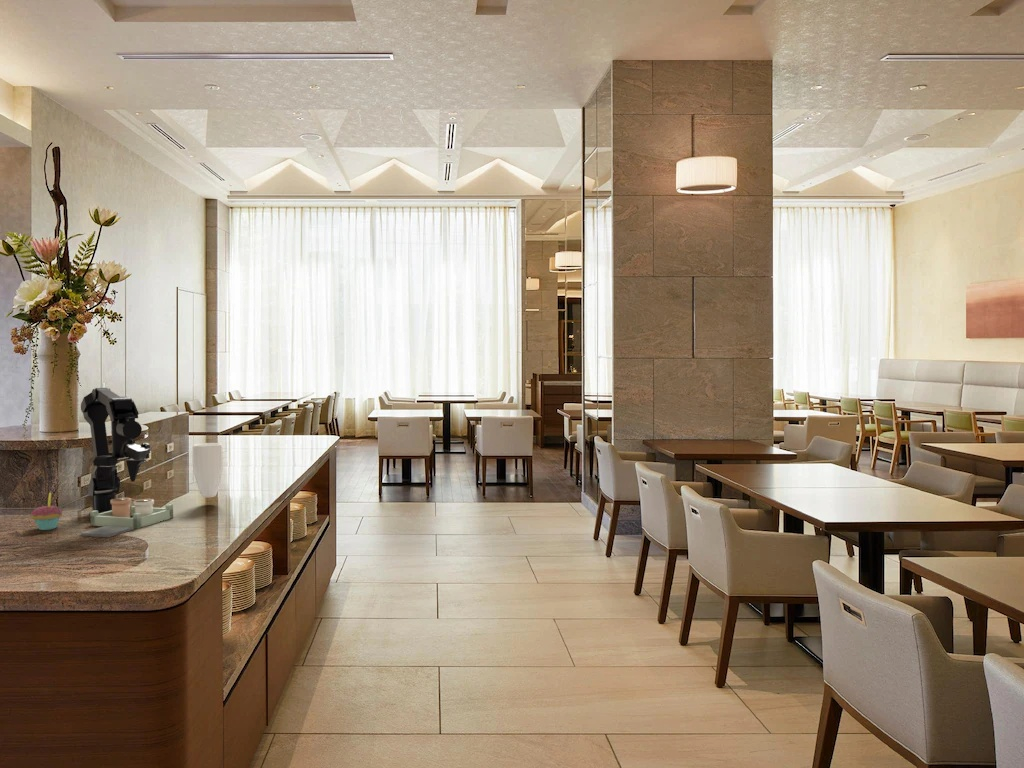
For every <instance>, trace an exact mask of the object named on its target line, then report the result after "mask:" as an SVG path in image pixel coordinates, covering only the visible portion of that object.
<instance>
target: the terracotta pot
mask: <svg viewBox="0 0 1024 768" xmlns="http://www.w3.org/2000/svg"><path fill="white" fill-rule="evenodd" d="M114 498H115V497H114ZM131 502H132V498H131V497H117V498H115V499H111V500H110V503H111V505H112V516H113V517H128V518H131V516H130V503H131Z"/></svg>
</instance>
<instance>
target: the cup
mask: <svg viewBox="0 0 1024 768" xmlns="http://www.w3.org/2000/svg"><path fill="white" fill-rule="evenodd" d="M223 453H224V452H223V443H221V442H220V443H219V442H204V443H201V442H200V443H195V444H193V445H192V468H193V471H192V472H193V476H194V480H195V484H196V486H197V489H198V492H199V494H200V496H201V498H214V497H216V496H217V494H218V492H219V487H220V485H221V481H222V475H223V469H224V468H223V467H224V466H223V462H224V461H223V459H224V457H223Z"/></svg>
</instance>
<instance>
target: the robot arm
mask: <svg viewBox="0 0 1024 768" xmlns="http://www.w3.org/2000/svg"><path fill="white" fill-rule="evenodd" d="M80 410H81V413H82V415H83V419H84V420H85V421H86V422H87V424H89V426H90V427H89V429H90V434H91V442H92V450H93V459H92V461H93V463H92V464H93V467H94V468H93V470H92V472H91V474H90V480H89V483H88V486H87V494H88V495H89V496H91V497H92V511H94V510H95V511H98V514H99V513H103V512H107V511H111V510H112V505H111V503H110V500H111V499H115V494H119V492H120V487H121V486H120V484H121V478H120V476H119V475H118V467H119V465H118V462H120V461H126V462H125V463H126V466H127V471H128V475H129V478H130V482H131V483H132V482H135V481H136V478H137V476H138V473H139V470H140V467H141V465H143V463H145V462H146V461H147V459H150V453H151V446H150V445H151V444H150V443H149V442H144V443H141V444H137V443H136V438H138V437H140V435H141V434H142V431H143V430H142V429H143V428H142V426H141V423H140V422H138V421H136V419H139V413H140V412H139V410H138V408H137V406H136V404H135V402H134V400H133V399H132V398H131V397H130V396H120V395H118V394H117V393H115V392H114V391H112V390H111V388H109V387H95V388H93V389H92V390H91V392H90V393H88V394H86V395H85V396H84V397H83V398H82V401H81V403H80ZM108 417H109V418H110V425H111V426H110V427H111V428H110V429H111V439H108V435H107V434H108V433H107V427H106V421H107V419H108ZM109 444H111V451H110V449H109Z"/></svg>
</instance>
